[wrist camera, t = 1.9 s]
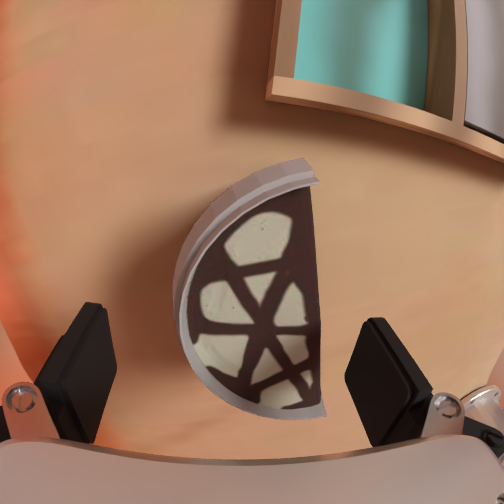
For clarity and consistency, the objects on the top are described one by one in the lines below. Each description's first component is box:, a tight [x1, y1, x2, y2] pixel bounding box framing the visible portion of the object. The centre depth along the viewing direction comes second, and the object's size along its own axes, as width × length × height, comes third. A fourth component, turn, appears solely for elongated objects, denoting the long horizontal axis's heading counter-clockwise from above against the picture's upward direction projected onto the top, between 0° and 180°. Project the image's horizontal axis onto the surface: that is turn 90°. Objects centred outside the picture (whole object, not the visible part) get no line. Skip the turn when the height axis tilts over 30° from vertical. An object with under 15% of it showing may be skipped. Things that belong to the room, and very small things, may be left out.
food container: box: [172, 158, 327, 420], centre depth 16 cm, size 12×6×10 cm, turn 8°
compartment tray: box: [265, 0, 504, 164], centre depth 13 cm, size 23×17×4 cm
